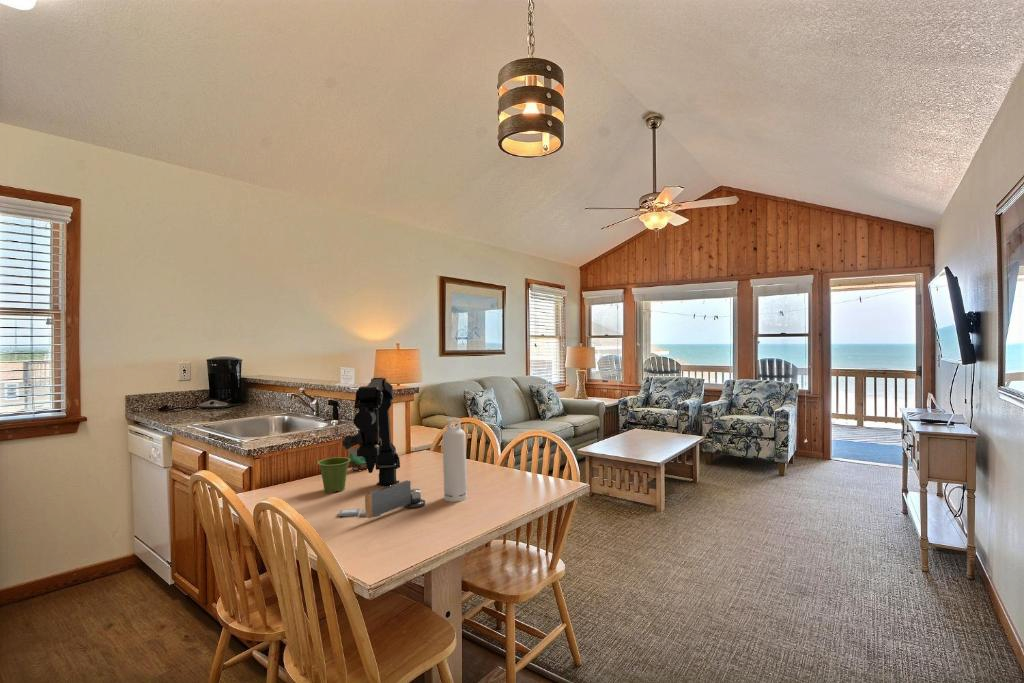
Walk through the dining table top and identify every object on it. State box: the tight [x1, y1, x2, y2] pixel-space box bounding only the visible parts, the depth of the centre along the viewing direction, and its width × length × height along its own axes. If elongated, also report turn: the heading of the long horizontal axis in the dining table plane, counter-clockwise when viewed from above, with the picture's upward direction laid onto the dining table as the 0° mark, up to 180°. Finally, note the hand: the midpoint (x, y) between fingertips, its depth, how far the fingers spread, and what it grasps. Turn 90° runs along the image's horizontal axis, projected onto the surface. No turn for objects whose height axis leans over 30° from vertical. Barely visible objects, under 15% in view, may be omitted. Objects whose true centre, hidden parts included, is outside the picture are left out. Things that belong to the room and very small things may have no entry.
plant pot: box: [317, 456, 351, 493], centre depth 190 cm, size 12×12×11 cm
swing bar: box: [364, 479, 422, 519], centre depth 163 cm, size 22×4×8 cm, turn 143°
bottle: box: [442, 417, 468, 503], centre depth 177 cm, size 8×8×28 cm
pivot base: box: [404, 498, 426, 510], centre depth 170 cm, size 7×7×1 cm
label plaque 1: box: [338, 508, 361, 518], centre depth 163 cm, size 4×6×1 cm, turn 100°
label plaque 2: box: [360, 509, 379, 517], centre depth 162 cm, size 4×6×1 cm, turn 100°
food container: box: [348, 447, 367, 472], centre depth 220 cm, size 12×6×10 cm, turn 147°
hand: (370, 472), depth 162 cm, fingers closed
